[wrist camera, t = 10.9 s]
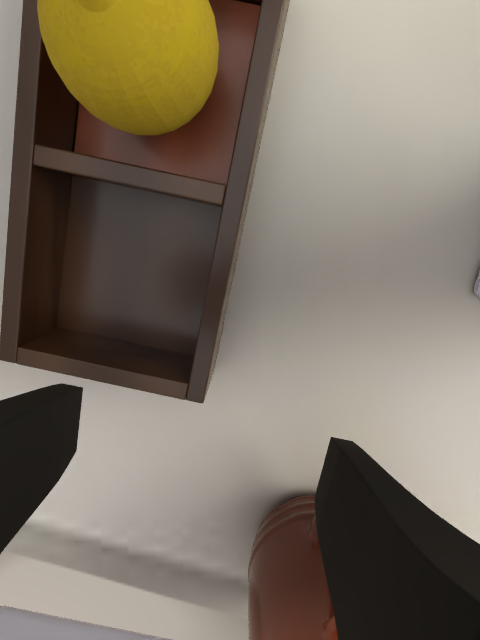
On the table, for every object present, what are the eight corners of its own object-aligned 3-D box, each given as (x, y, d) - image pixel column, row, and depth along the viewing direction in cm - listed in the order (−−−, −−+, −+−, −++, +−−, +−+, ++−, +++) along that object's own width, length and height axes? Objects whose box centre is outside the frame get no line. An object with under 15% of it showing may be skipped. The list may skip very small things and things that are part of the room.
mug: (379, 608, 25) (460, 872, 15) (234, 595, 25) (217, 844, 15) (411, 427, 22) (538, 600, 12) (247, 414, 22) (236, 572, 12)
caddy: (290, -4, 17) (298, -68, 14) (213, 371, 22) (203, 404, 18) (82, -48, 17) (30, -126, 14) (45, 335, 22) (-3, 360, 18)
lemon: (240, 134, 18) (224, 67, 10) (122, 164, 19) (23, 122, 11) (210, -6, 17) (166, -200, 9) (85, 31, 18) (-55, -122, 10)
